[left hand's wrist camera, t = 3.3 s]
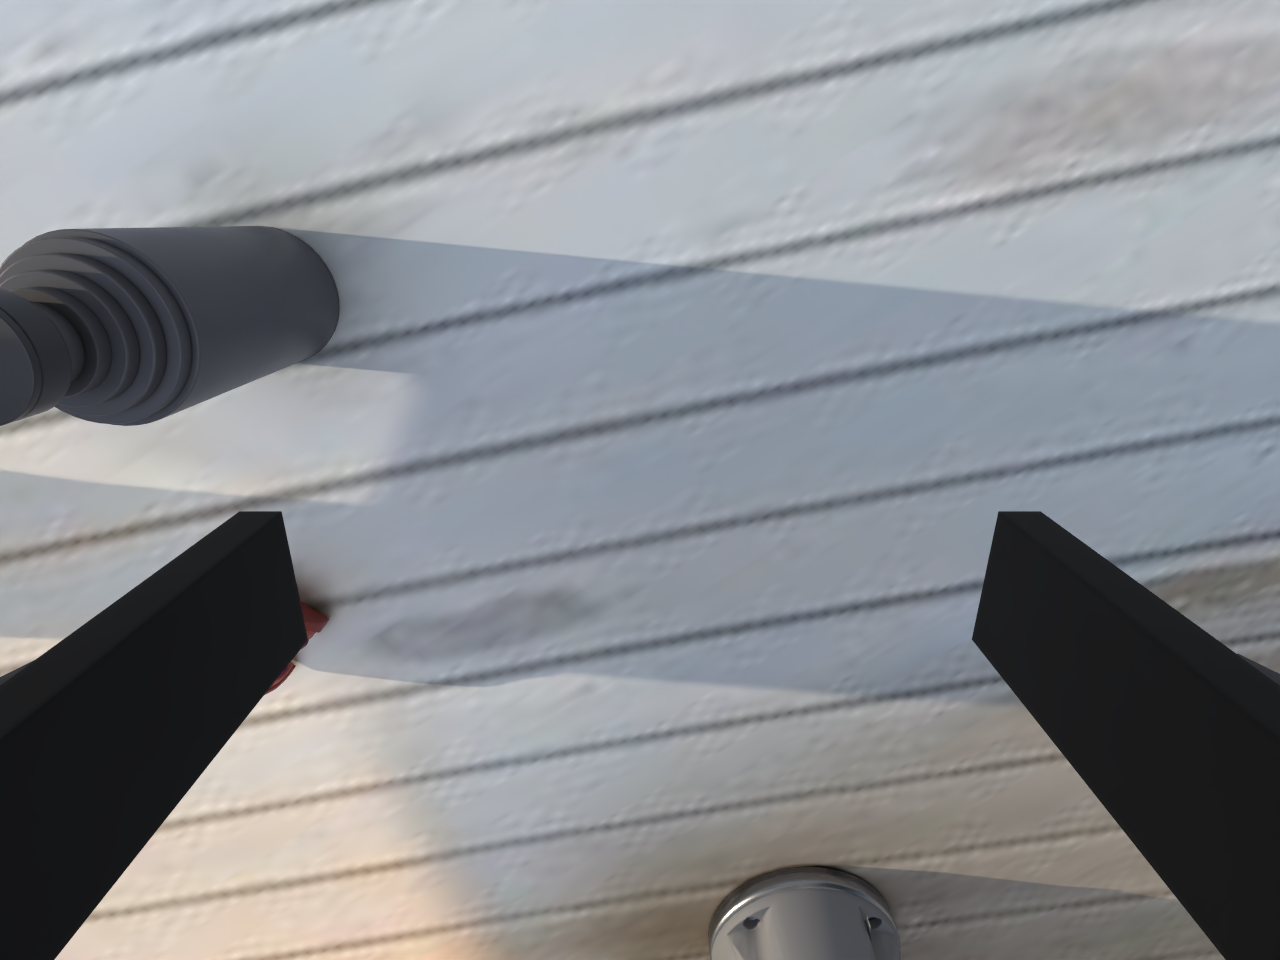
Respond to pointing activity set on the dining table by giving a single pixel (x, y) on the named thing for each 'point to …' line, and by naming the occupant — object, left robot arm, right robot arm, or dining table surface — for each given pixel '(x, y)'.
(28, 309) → the cap
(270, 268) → the bottle
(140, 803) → the left robot arm
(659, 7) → the dining table surface
